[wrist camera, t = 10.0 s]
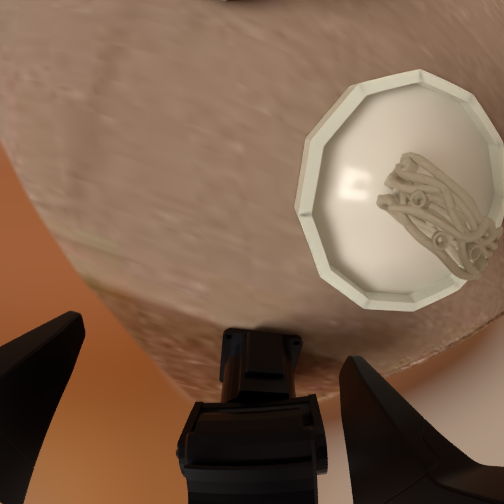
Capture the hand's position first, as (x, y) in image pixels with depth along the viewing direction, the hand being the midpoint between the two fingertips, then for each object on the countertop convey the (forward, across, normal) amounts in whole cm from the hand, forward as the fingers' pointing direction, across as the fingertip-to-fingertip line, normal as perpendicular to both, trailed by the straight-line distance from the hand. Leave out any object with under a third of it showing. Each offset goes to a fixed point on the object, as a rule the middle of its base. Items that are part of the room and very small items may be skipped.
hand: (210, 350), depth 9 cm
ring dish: (+12, -12, -4) cm, 18 cm away
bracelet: (+12, -12, -4) cm, 17 cm away
